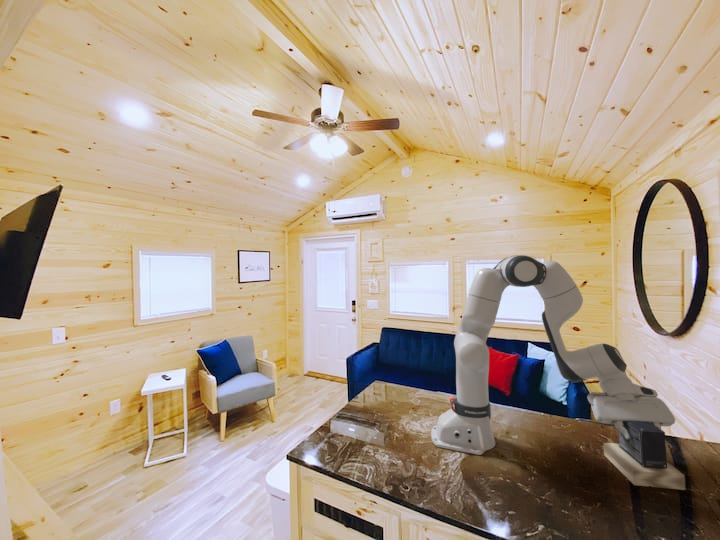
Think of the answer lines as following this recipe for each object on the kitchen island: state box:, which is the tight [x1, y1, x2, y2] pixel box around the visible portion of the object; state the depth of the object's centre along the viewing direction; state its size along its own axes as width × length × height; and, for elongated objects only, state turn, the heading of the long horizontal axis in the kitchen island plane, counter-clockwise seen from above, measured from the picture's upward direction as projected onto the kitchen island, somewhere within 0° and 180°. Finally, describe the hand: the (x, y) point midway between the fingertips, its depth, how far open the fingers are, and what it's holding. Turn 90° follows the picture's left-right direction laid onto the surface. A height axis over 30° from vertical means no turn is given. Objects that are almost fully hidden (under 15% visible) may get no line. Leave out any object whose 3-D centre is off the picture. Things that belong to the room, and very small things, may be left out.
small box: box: [617, 421, 668, 468], centre depth 88 cm, size 11×6×10 cm, turn 169°
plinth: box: [603, 442, 686, 491], centre depth 88 cm, size 12×14×4 cm
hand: (644, 439), depth 87 cm, fingers closed on small box, 6 cm apart
